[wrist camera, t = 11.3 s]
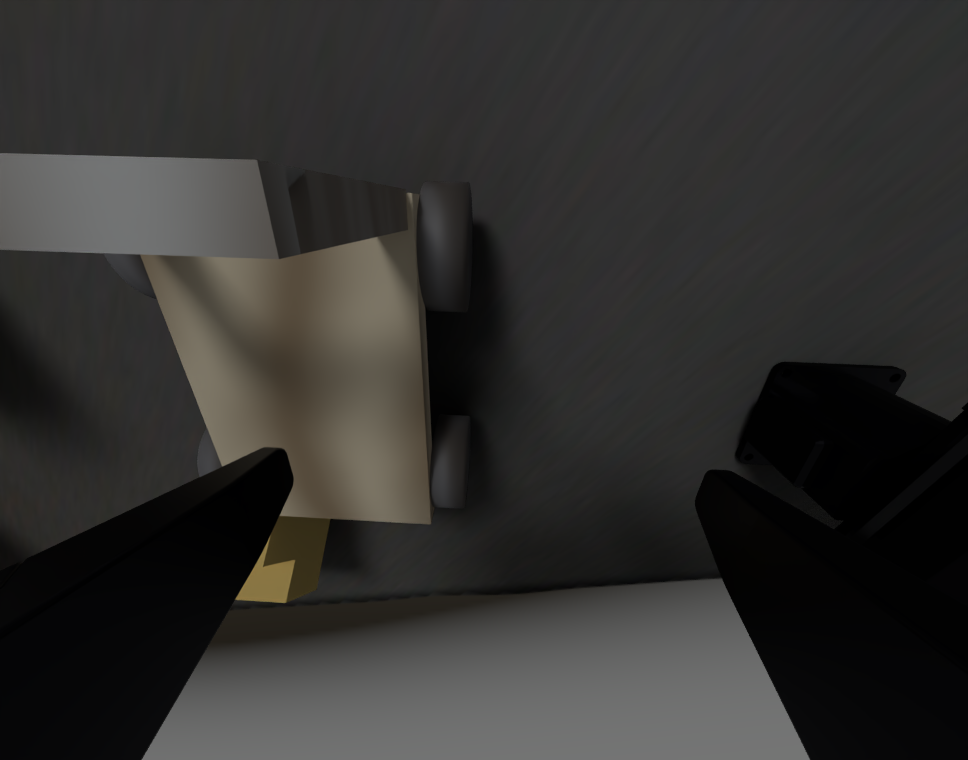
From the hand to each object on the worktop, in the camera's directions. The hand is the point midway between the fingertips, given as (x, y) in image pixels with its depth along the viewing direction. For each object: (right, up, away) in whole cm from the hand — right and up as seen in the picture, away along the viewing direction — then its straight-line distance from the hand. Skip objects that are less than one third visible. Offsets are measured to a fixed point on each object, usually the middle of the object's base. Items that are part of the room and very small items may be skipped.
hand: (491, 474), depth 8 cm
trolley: (-7, +4, +12) cm, 15 cm away
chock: (-13, -6, +14) cm, 21 cm away
